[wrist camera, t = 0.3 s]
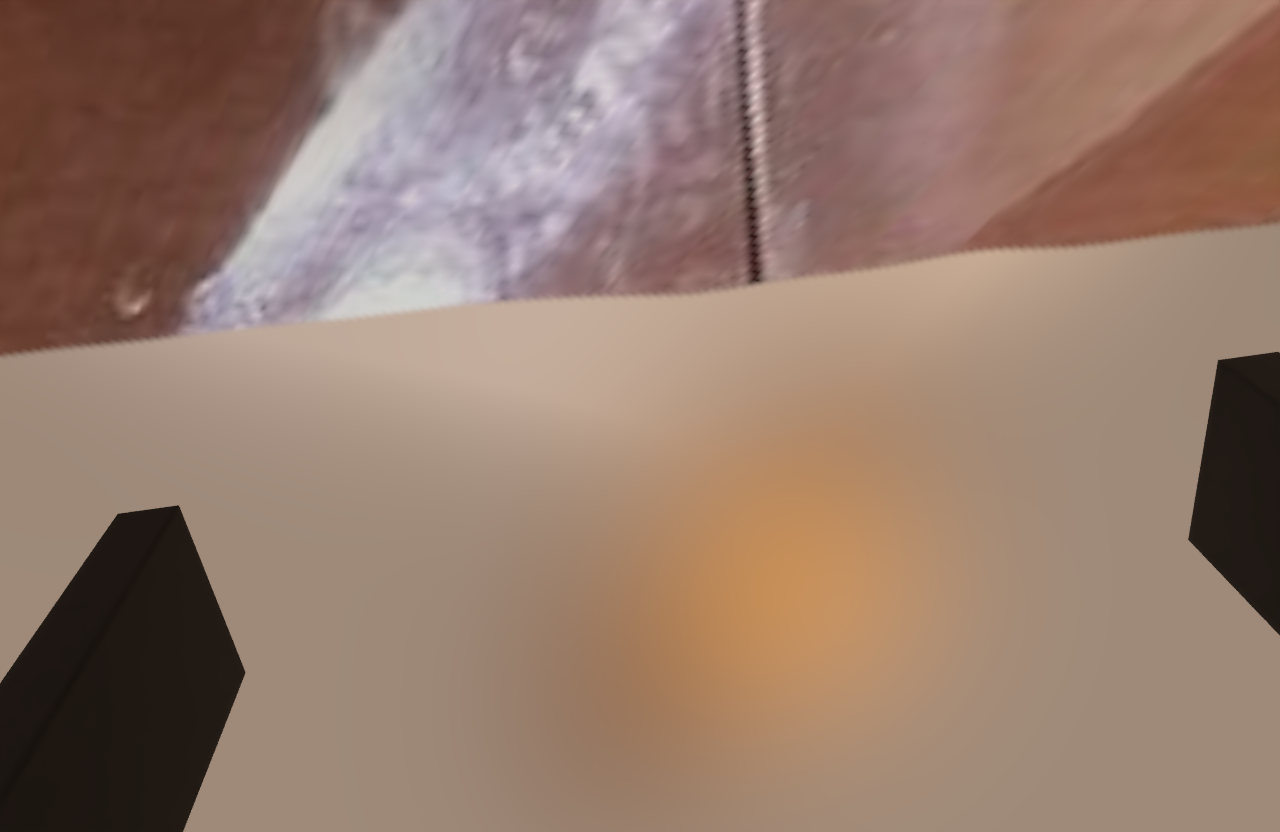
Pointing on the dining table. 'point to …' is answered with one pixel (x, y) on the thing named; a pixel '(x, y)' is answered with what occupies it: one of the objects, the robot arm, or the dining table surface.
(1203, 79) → the dining table surface
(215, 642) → the robot arm
